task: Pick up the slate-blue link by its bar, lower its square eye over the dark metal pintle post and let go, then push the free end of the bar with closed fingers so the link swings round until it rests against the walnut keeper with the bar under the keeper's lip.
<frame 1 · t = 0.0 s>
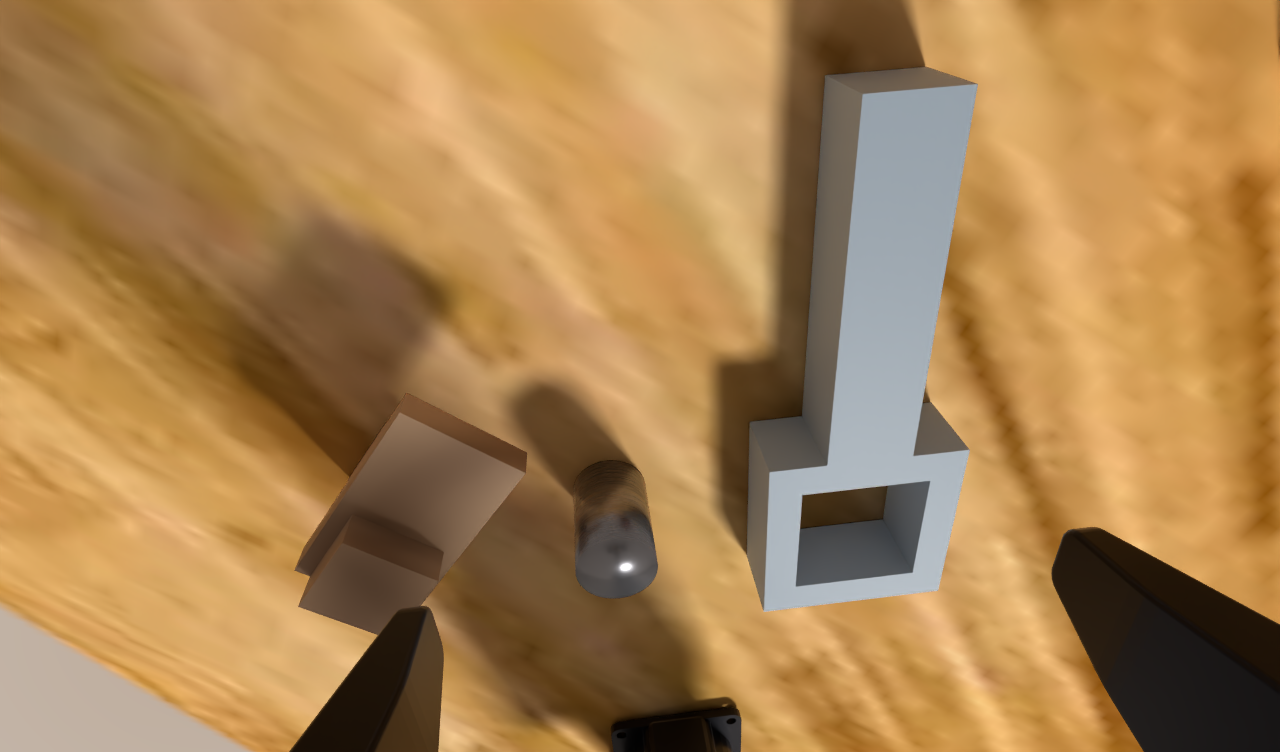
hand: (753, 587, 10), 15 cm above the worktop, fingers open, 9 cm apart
keeper: (405, 467, 26), on the worktop
pintle: (609, 489, 28), on the worktop
link: (875, 71, 21), on the worktop
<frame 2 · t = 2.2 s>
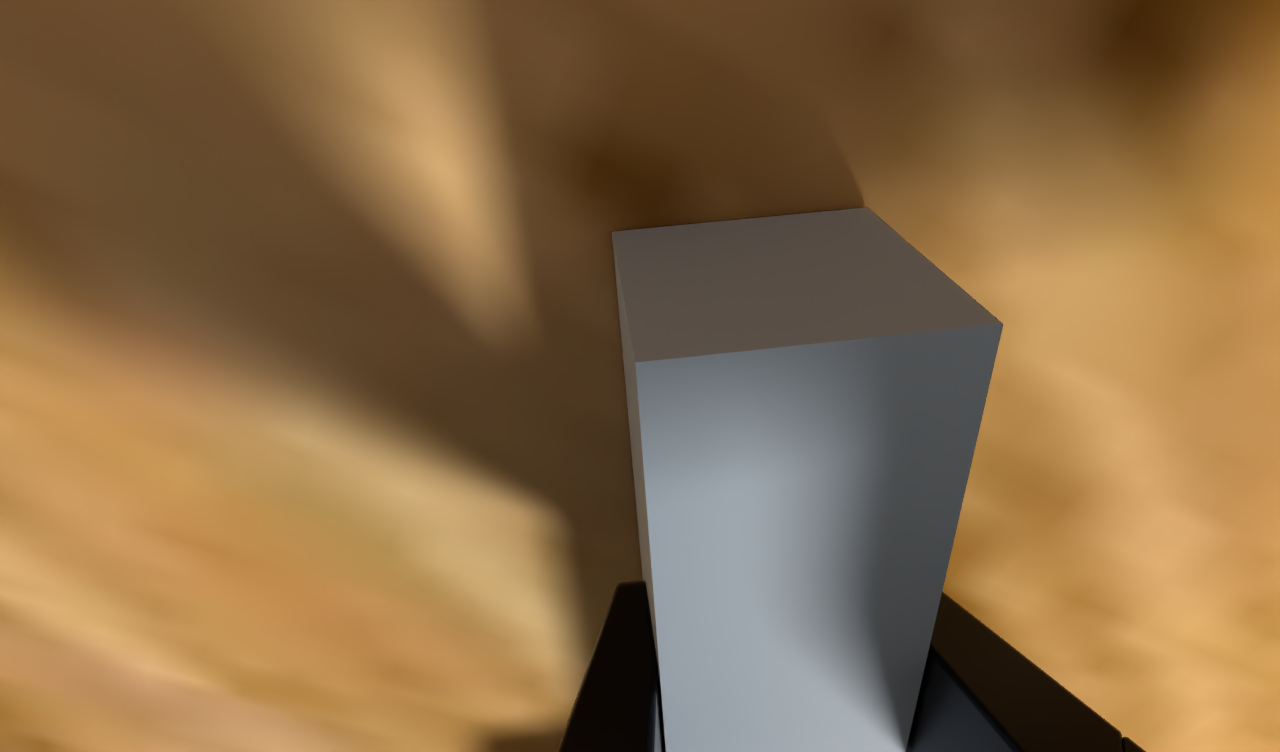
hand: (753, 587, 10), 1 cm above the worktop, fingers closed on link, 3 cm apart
link: (740, 219, 8), on the worktop, touching gripper
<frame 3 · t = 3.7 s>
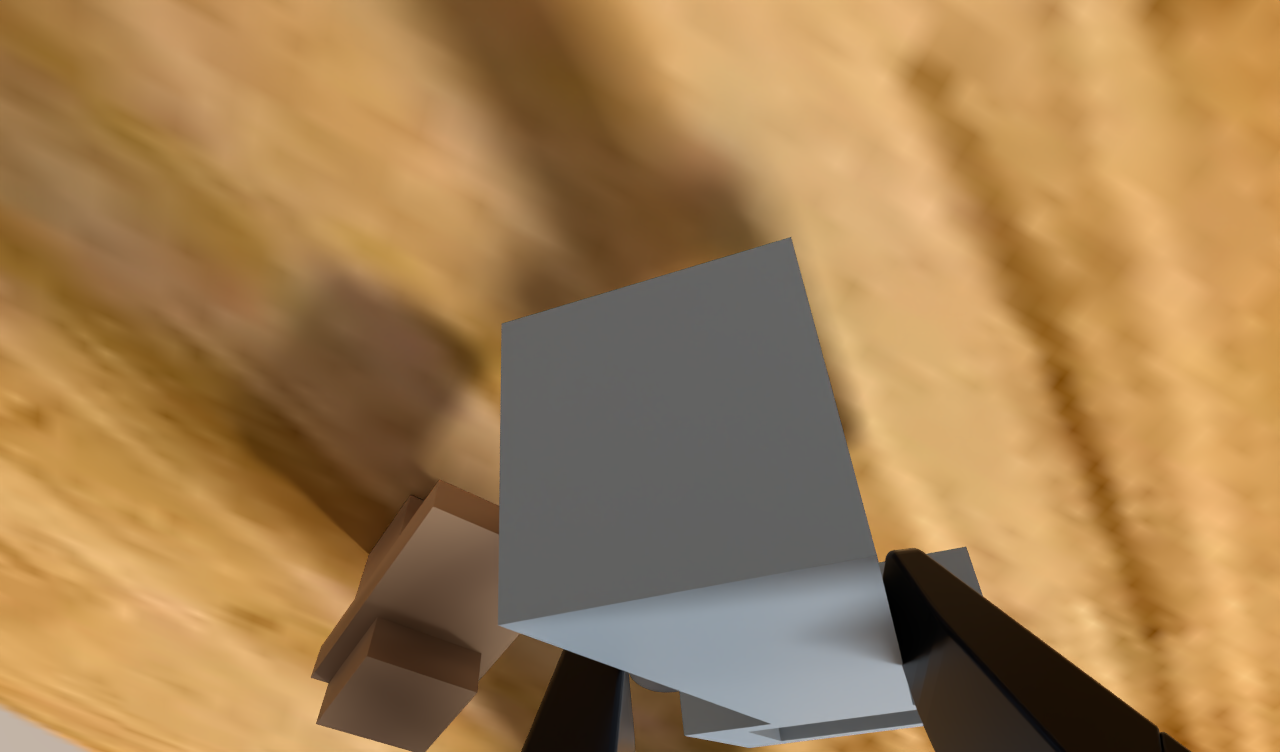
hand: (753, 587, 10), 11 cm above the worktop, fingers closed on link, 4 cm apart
keeper: (431, 543, 24), on the worktop
pintle: (657, 560, 25), on the worktop
link: (638, 282, 7), point 12 cm above the worktop, tilted 27°, touching gripper, pintle
when the fingers open (3 cm above the worktop, at t = 5.5 s): link drops 2 cm, on the worktop.
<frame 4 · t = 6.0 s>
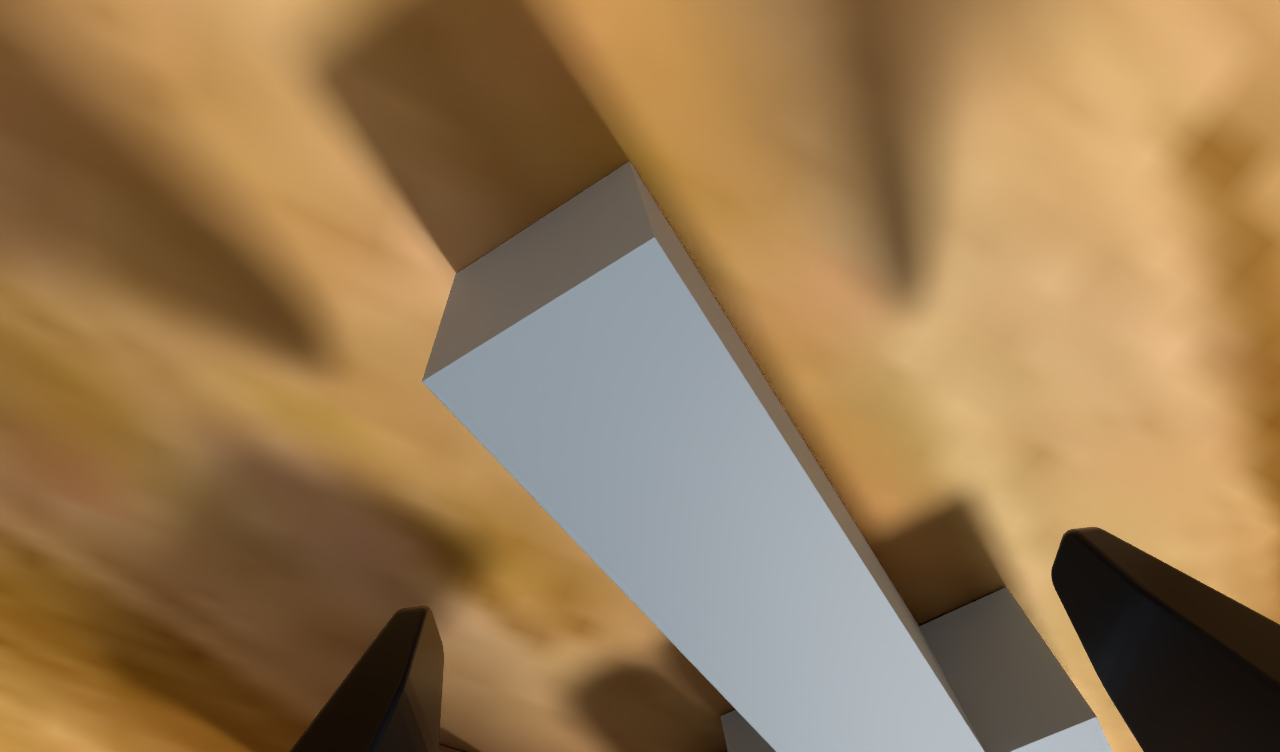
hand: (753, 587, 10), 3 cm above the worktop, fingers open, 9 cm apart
link: (540, 219, 10), on the worktop
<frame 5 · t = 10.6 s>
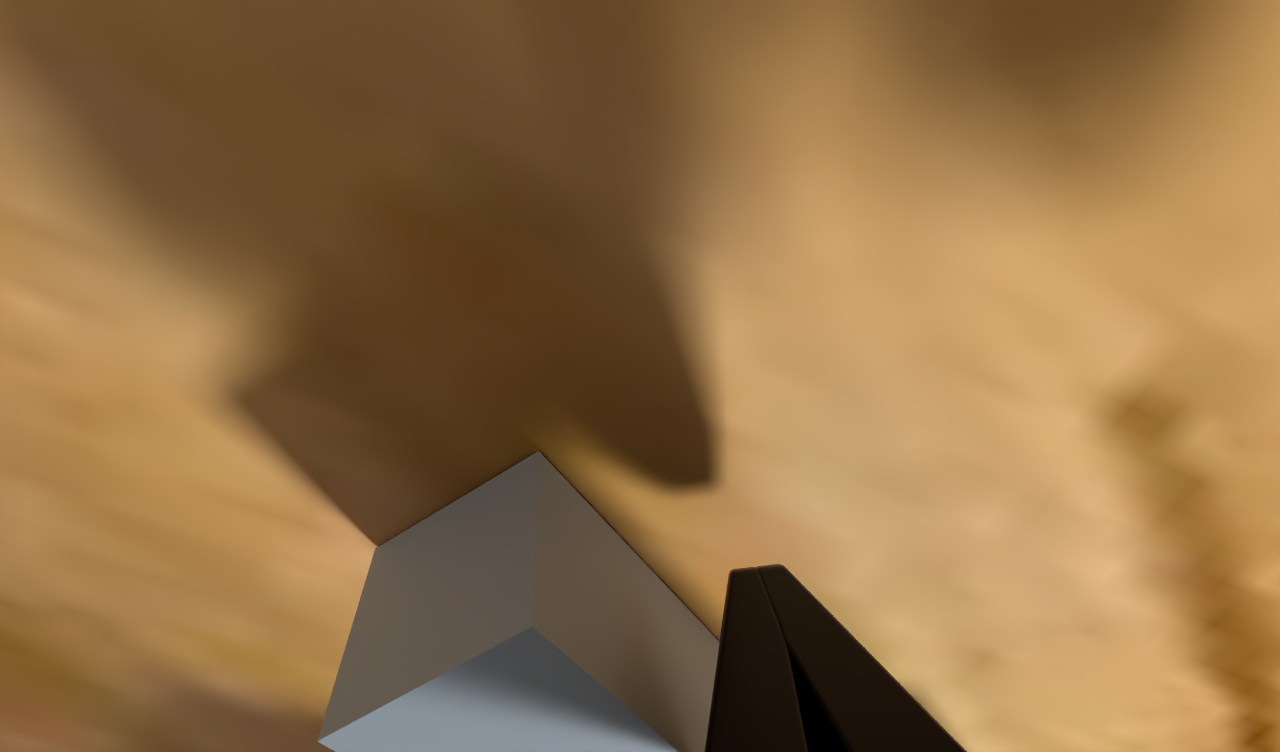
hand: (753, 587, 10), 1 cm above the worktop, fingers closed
link: (454, 501, 10), on the worktop, touching gripper, pintle
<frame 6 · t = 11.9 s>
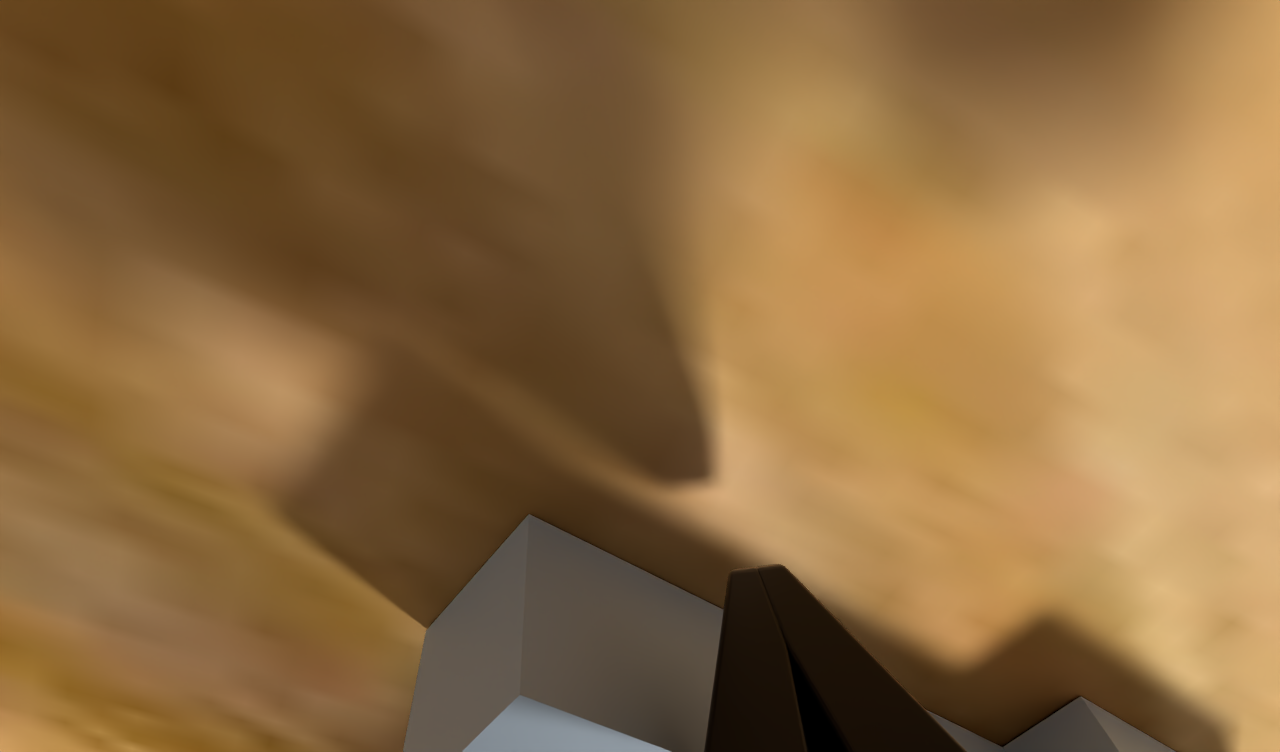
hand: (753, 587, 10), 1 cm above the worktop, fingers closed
link: (474, 575, 11), on the worktop, touching gripper, pintle
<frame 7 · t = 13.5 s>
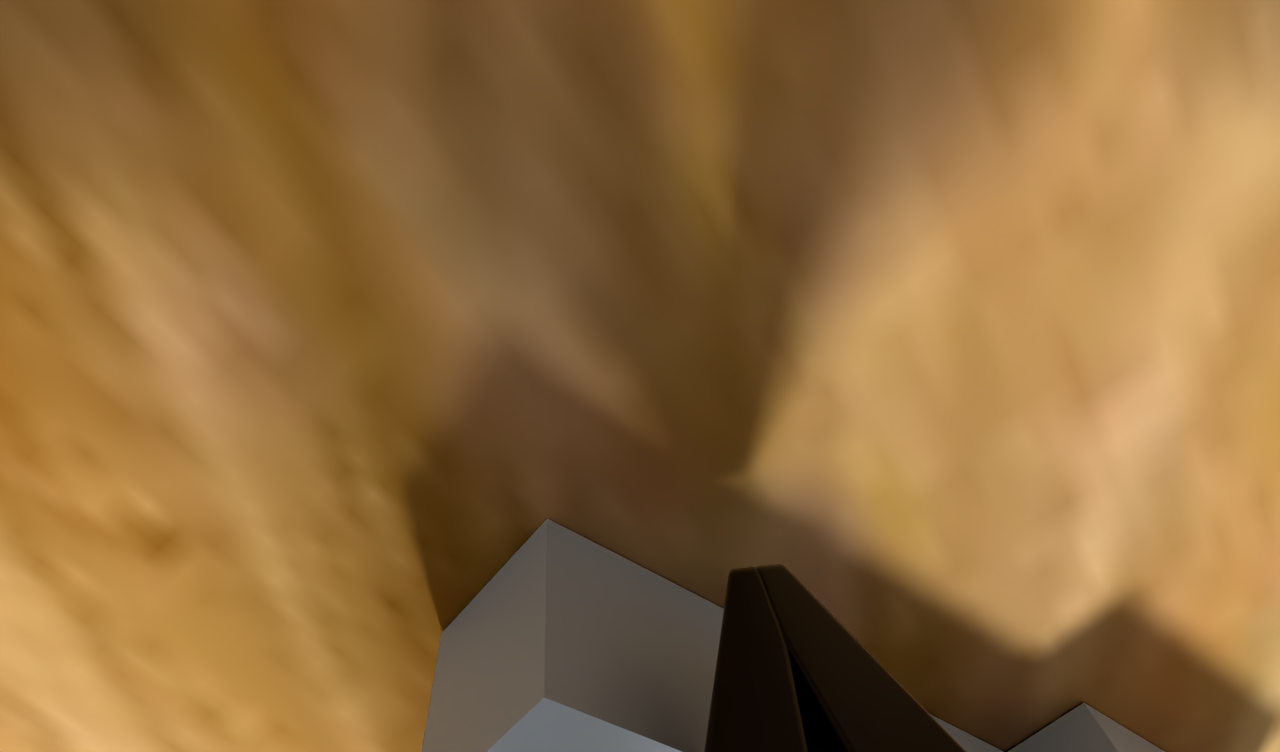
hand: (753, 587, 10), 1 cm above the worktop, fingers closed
link: (491, 578, 11), on the worktop, touching gripper, pintle
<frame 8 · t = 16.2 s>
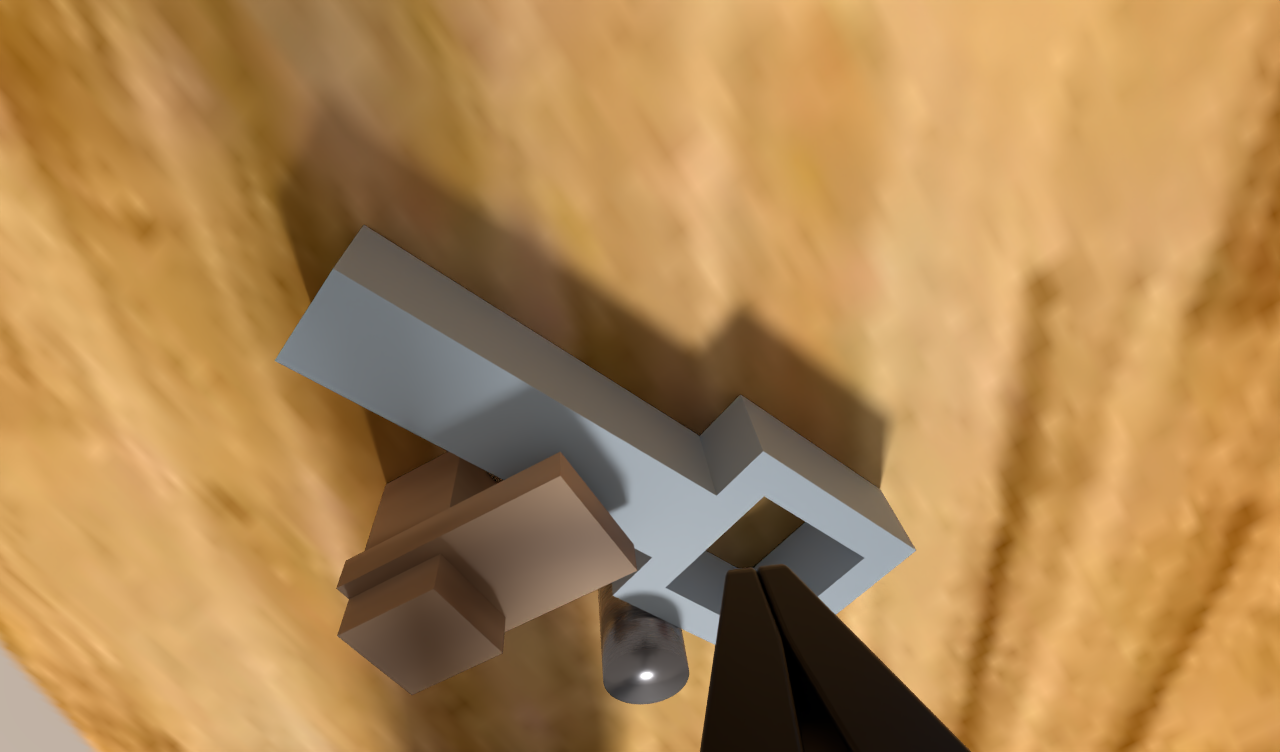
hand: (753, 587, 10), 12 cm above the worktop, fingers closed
keeper: (451, 494, 24), on the worktop
pintle: (634, 579, 27), on the worktop
link: (336, 267, 19), on the worktop
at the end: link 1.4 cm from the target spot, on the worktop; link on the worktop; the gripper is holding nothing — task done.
